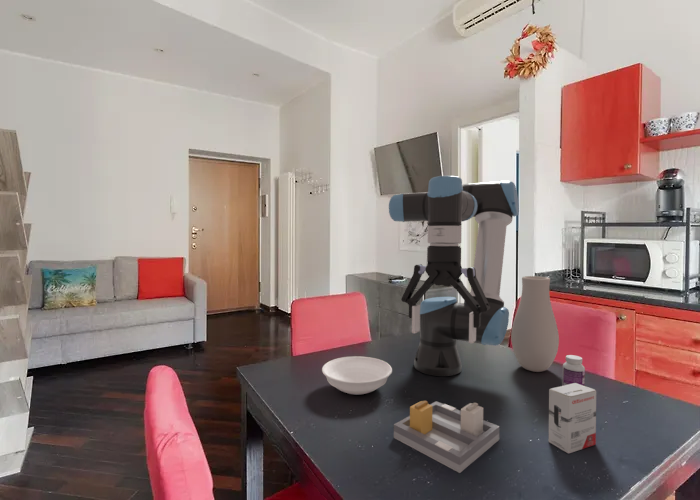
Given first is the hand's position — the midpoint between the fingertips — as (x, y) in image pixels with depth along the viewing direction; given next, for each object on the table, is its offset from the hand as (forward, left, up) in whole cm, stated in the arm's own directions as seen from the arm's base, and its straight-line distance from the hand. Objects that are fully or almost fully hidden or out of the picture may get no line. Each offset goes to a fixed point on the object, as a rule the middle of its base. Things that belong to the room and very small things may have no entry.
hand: (442, 336), depth 85 cm
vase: (+1, +51, -21) cm, 55 cm away
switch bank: (+4, -5, -21) cm, 22 cm away
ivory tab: (+8, -1, -19) cm, 21 cm away
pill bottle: (+15, +42, -21) cm, 49 cm away
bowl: (-27, -2, -21) cm, 34 cm away
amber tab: (0, -8, -19) cm, 21 cm away
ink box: (+23, +13, -21) cm, 34 cm away
